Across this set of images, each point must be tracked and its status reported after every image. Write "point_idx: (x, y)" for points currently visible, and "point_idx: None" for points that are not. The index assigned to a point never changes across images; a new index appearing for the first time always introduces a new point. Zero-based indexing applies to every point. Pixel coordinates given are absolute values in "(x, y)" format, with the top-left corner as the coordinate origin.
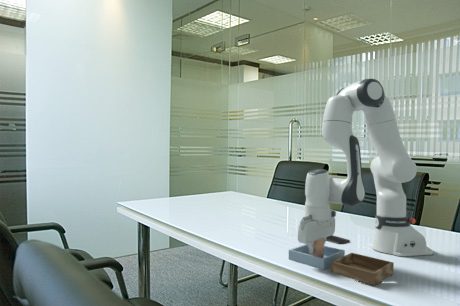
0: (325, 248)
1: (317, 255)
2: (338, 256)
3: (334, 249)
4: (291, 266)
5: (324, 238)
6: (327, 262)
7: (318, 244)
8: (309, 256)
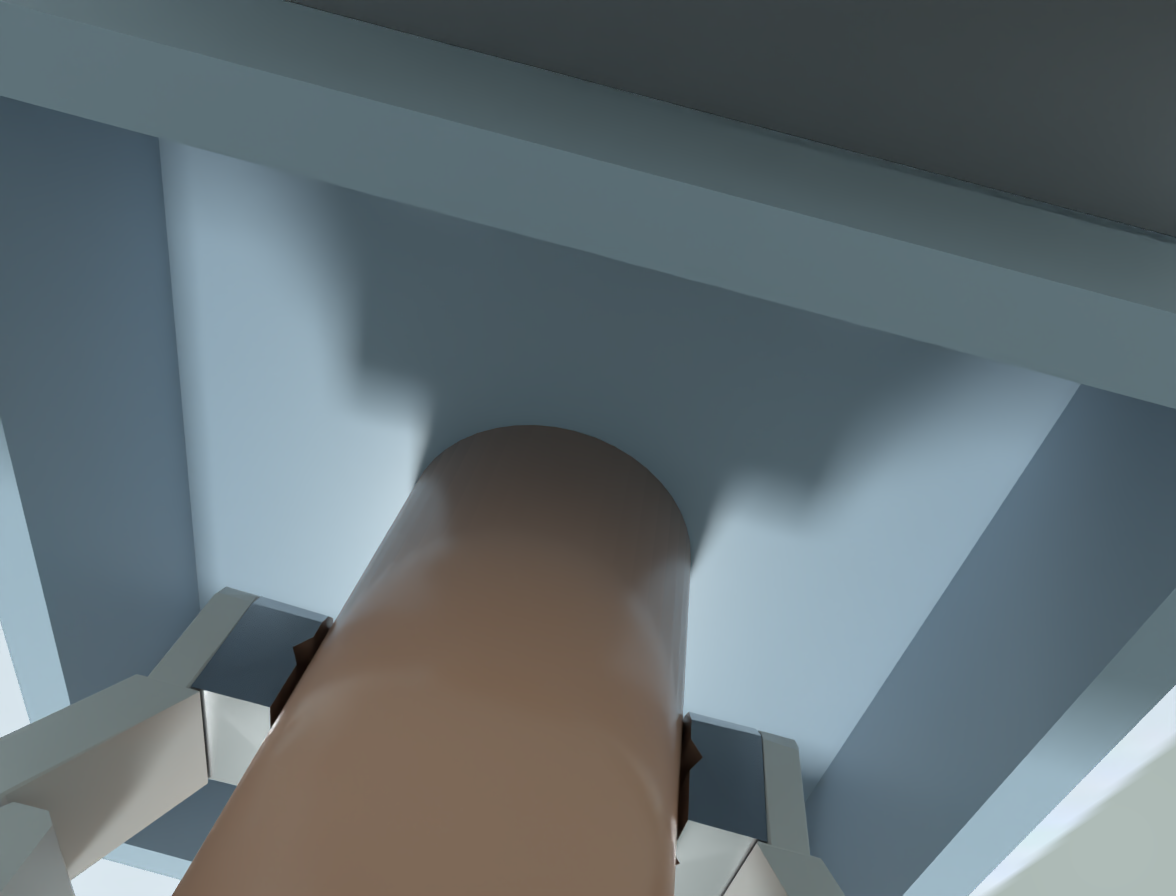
0: (82, 556)
1: (674, 604)
2: (377, 70)
3: (4, 340)
4: (1076, 786)
5: (5, 882)
6: (1117, 257)
7: (637, 882)
8: (1073, 754)
